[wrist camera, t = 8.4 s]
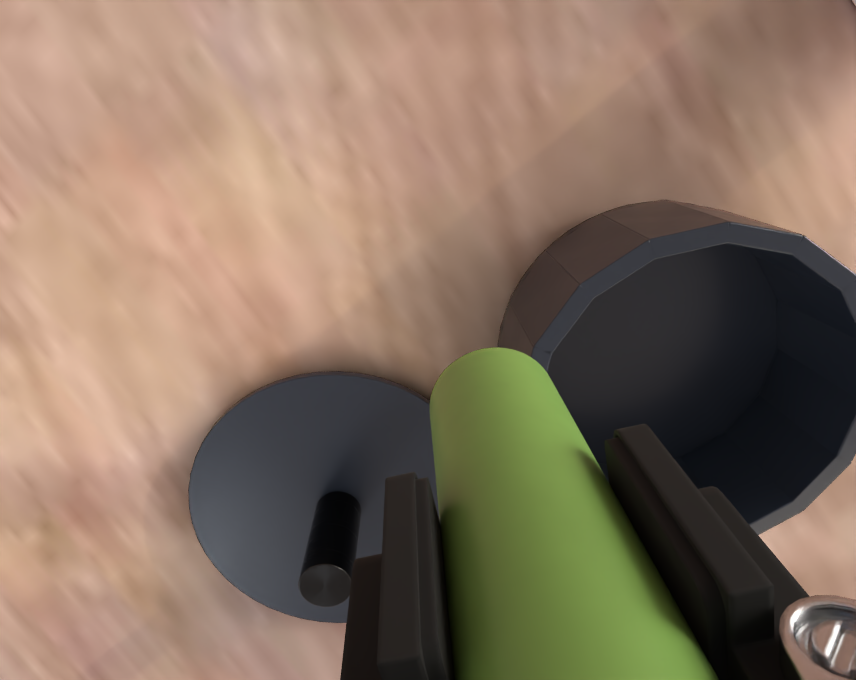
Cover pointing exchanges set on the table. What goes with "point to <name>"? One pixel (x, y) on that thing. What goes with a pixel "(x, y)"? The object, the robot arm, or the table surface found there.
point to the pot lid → (306, 485)
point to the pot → (701, 347)
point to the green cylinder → (541, 540)
